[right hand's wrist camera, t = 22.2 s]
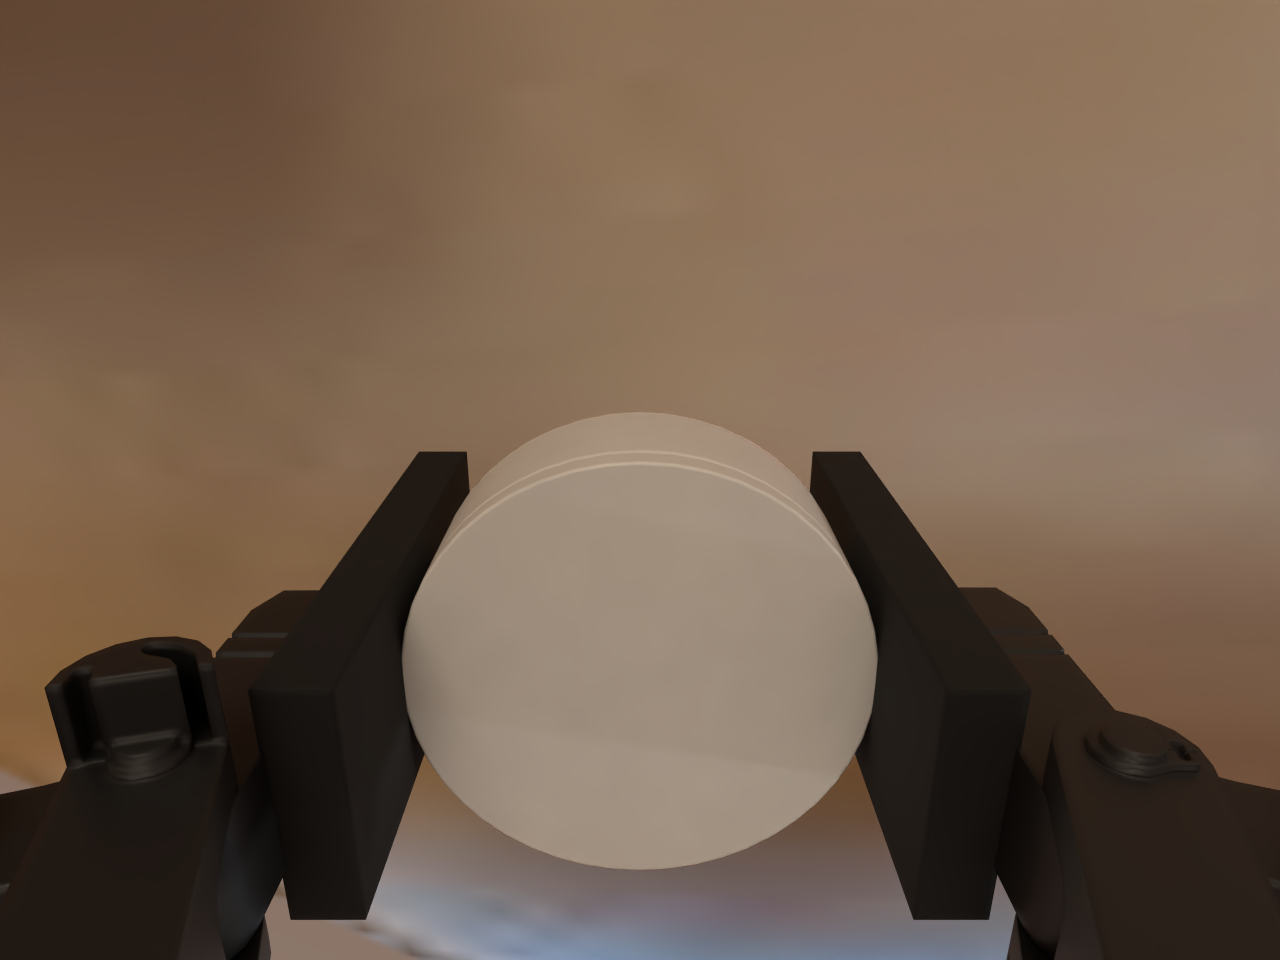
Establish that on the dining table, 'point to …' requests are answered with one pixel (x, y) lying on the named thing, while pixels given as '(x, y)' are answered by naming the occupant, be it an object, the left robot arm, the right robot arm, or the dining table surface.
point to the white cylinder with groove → (639, 645)
